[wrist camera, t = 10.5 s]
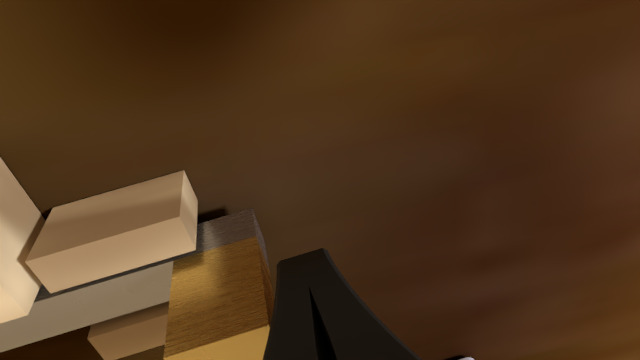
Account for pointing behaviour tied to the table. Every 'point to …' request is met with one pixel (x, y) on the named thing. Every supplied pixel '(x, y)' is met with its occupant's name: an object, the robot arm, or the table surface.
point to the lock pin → (175, 297)
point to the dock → (95, 250)
